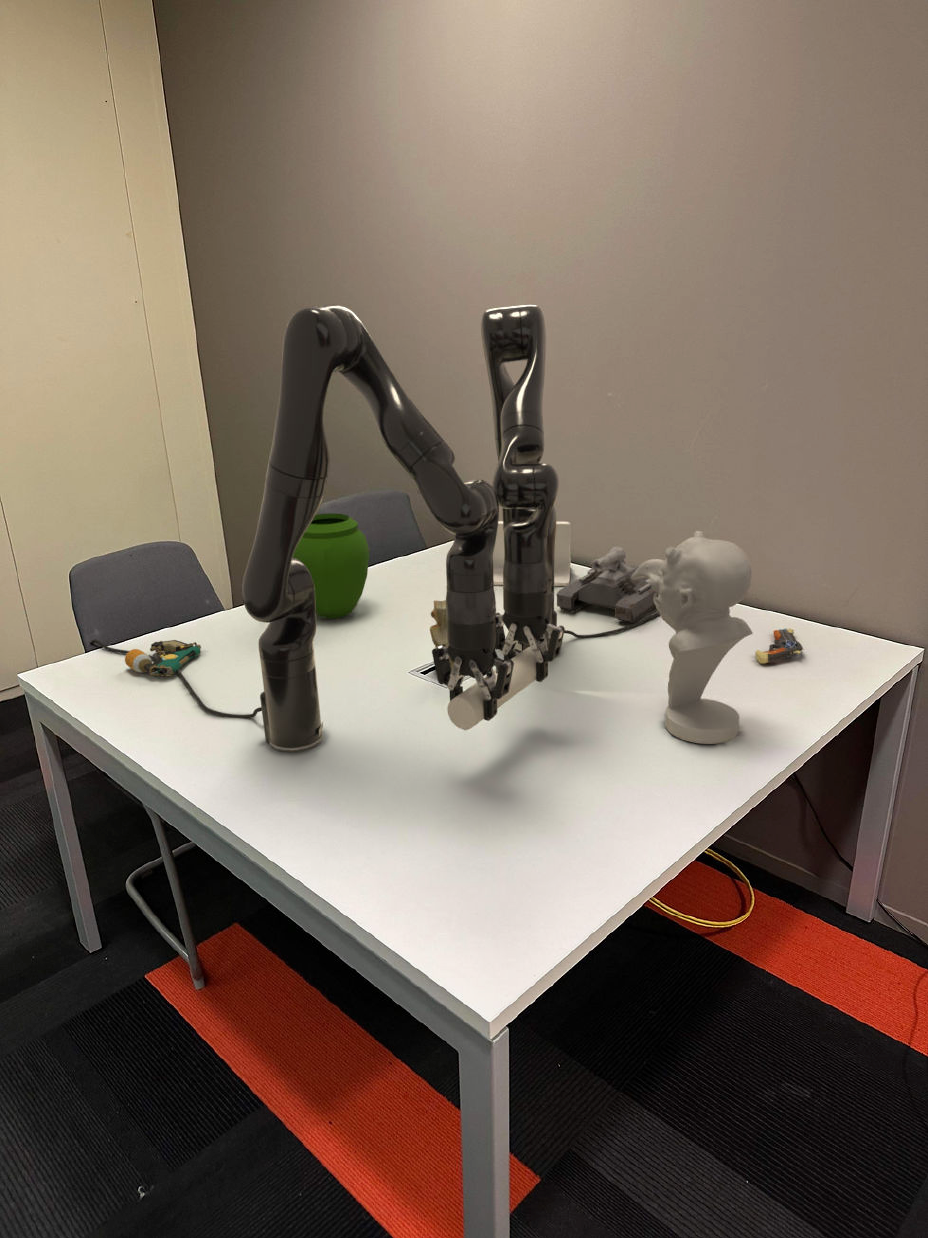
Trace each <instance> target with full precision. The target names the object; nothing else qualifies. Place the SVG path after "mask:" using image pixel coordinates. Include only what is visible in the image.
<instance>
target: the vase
mask: <svg viewBox="0 0 928 1238" xmlns="http://www.w3.org/2000/svg"><path fill="white" fill-rule="evenodd" d="M358 524H359V523H358V521H356V520H355V519H353V518H352V517H350V516H349V515H347V514H344V513H335V512H334V513H333V512H331V513H320V514H316V515H315V517H314V518H313V520H312V522H311V523H310V525H309V527H308V528H307V530H306V532H305V533H304V535H303V536H302V538H301V540H300V541H299V543H298V545H297V547H296V549H295V552H294V555H293V558H296V559H298V560H300V561H301V562H302V563H303V564H304V565H305V566H306V567H307V569H308V570H309V572H310V574H311V577H312V579H313V583H314V589H315V602H316V616H318V617H320V618H324V619H326V620H327V619H329V620H336V619H341V618H345V617H347V616H349V615H350V614H351V613H352V612H353V611H354V610H355V608H356V607H357V605H358V604H359V601H360V599H361V597H362V595H363V592H364V588H365V586H366V581H367V578H368V570H369V561H370V560H369V559H370V548H369V545H368V541H367V537H366V535H365V534H364V533H363V532H362V531H361V530H360V529H359V527H358Z"/></svg>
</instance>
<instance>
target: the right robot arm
mask: <svg viewBox="0 0 928 1238" xmlns="http://www.w3.org/2000/svg"><path fill="white" fill-rule="evenodd" d="M546 331H547V330H546V322H545V317H544V313H543V311H542V309H541V307H539V306H538V305H535V304H523V305H512V306H503V307H496V308H494V307H493V308H490V309H487V310H485V311H484V313H483V314H482V317H481V321H480V332H481V341H482V349H483V355H484V360H485V366H486V372H487V377H488V382H489V388H490V396H491V405H492V417H493V418H492V419H493V431H494V442H495V450H496V455H497V461H498V462H497V464H496V465H497V466H496V468H495V471H494V474H493V478H492V483H491V486H492V488H493V489H494V491H495V493H496V495H497V498H498V503H499V508H501V510H502V511H501V512H502V521H503V530H504V566H503V585H502V605H503V607H502V608H503V611H504V612H503V614H501V613H500V612H496V643H495V651H496V650H497V651H498V650H499V651H501V652H502V654H503V660H505V661H507V660H510V659H512V658H513V657H515V656H516V655H518V654H519V653H521V652H522V651H524V650H525V649H526V648H528V647H531V649H532V651H534V653H535V656H536V658H537V662H536V680H535V681H536V682H537V683H542V682H544V681H545V680H546V678H548V677H549V667H548V661H549V663H550V662H553V661H554V660H555V659H557V658H558V657H560V653H561V649H562V644H563V640H564V636H565V634H567V635H571V636H573V637H574V638H578V639H593V638H599V637H604V636H607V635H613V634H616V633H620V632H623V631H627V630H629V629H632V628H633V627H636V626H640V625H641V624H644V623H645V622H647V621H649V620H652V619H653V618H655V617H658V616H659V615H660V614H659V612H658V611H657V612H655V613H653V614H651V615H649V616H647V617H644V618H643V619H641V620H639V621H638V620H637V621H635V622H634V623H630V624H628V625H626V626H623V627H621V628H617V629H613V630H608V631H604V632H598V633H593V634H577V633H576V632H574V631H572V630H567V629H566V628H565V627H564V625H558V613H557V612H556V611H555V586H554V559H555V537H556V522H557V511H556V508H555V502H556V500H557V496H558V492H559V486H560V480H559V475H558V473H557V470H556V469H555V468H554V467H553V465H551V464H550V463H545V462H544V463H542V462H541V461H542V458H543V456H544V453H545V452H544V451H545V433H544V432H545V431H544V418H543V397H544V385H545V373H546V357H547V356H546V354H547V353H546V352H547V333H546ZM524 361H526V363H525V367H524V370H523V371H522V374H521V375H520V376H519V378H518V380H517V382H516V383H514V381H513V379H512V378H511V375H510V374H509V372H508V369H507V367H506V364H507V363H508V364H509V363H517V362H524ZM504 626H505V627H506V629H507V631H508V632H507V634H505V628H504Z"/></svg>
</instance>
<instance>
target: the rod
mask: <svg viewBox="0 0 928 1238" xmlns="http://www.w3.org/2000/svg"><path fill="white" fill-rule="evenodd" d="M510 660H512V661H513V662H514V667H513V672H512V677H511V682H510V688H509V692H508V693H507V694H505V695H504V696H502V697H501V698H500V699H497V709H499V708H501V707H502V706H503V705H504V704H505V703H507V702H508V701H510V700H511V699H512V698H513V697H515V696H516V695H517V694H519V693H521V691H523V690H524V689H525V688H527V687H528V686H529V685H531V684H532V683H533V682H535V681H536V662H537V658H536V656H535V653H534V651H532V649H531V647H528V648H526V649H525V650H524V651H522V652H521V653H519V654H518V655H516V656H515V657H513V658H512V659H510ZM549 666H550V662H549V661H548V668H550V667H549ZM493 670H494V673H495V676H496V679H495V681H497V675H498V674H497V673H496V669H493ZM483 677H484V678H486V676H483ZM483 699H485V697H484V695H483V692H482V689H481V687H479V686H478V684H477V682H475V683H473V685H471V686H469V687H468V688H467V689H465V690H463V692H462V693H461V694H459V695H458V696H456V697H455V698H454V699H452V700H451V701H450V700H449V702H448V704H447V708H446V709H447V710H446V711H447V715H448V718H449V720H450V721H451V723H452V724H453V726H455V727H457V728H458V729H461V730H464V731H466V730H471V729H472V728H473V727H475V726H476V725H478V724H479V723H480V722H482V721H483V720H484V707H483Z"/></svg>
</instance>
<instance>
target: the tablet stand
mask: <svg viewBox="0 0 928 1238" xmlns="http://www.w3.org/2000/svg"><path fill="white" fill-rule="evenodd" d="M571 560H572V558H571V522H569V521H556V537H555V559H554V587H556V586H557V587H566V586H567V585H569V584H570V580H571V579H570V578H571V565H572V564H571ZM503 566H504V530H503V520H498V528H497V535H496V541H495V546H494V551H493V578H494V584H493V585H494V586H503Z"/></svg>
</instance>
